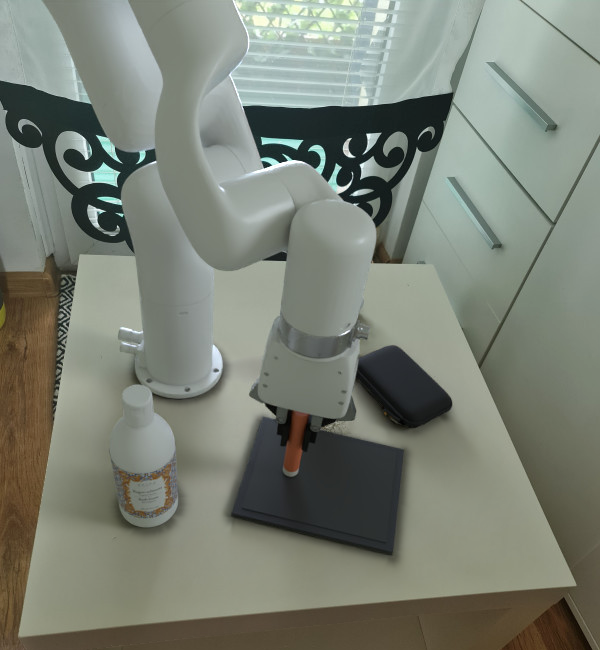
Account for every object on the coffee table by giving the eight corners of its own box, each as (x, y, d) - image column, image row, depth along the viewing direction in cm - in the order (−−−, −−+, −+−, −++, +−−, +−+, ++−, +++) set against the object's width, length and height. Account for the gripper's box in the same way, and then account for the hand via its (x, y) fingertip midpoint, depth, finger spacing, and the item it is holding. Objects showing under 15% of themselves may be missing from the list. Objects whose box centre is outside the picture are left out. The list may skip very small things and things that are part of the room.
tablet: (231, 516, 75) (231, 512, 74) (262, 419, 86) (262, 415, 85) (391, 555, 74) (393, 551, 73) (402, 452, 85) (404, 448, 84)
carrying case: (338, 373, 93) (401, 440, 86) (342, 359, 91) (406, 427, 84) (391, 350, 98) (454, 412, 91) (396, 336, 96) (461, 399, 89)
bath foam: (120, 533, 72) (100, 425, 57) (118, 483, 76) (98, 371, 61) (181, 525, 73) (176, 418, 58) (175, 477, 78) (169, 366, 63)
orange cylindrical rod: (281, 474, 78) (291, 414, 70) (284, 462, 80) (294, 401, 71) (296, 478, 78) (308, 418, 70) (299, 466, 80) (311, 405, 71)
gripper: (399, 319, 63) (364, 432, 76) (248, 285, 64) (240, 403, 77) (391, 369, 58) (355, 480, 71) (228, 332, 59) (223, 448, 72)
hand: (296, 439), depth 74 cm, fingers closed on orange cylindrical rod, 2 cm apart
